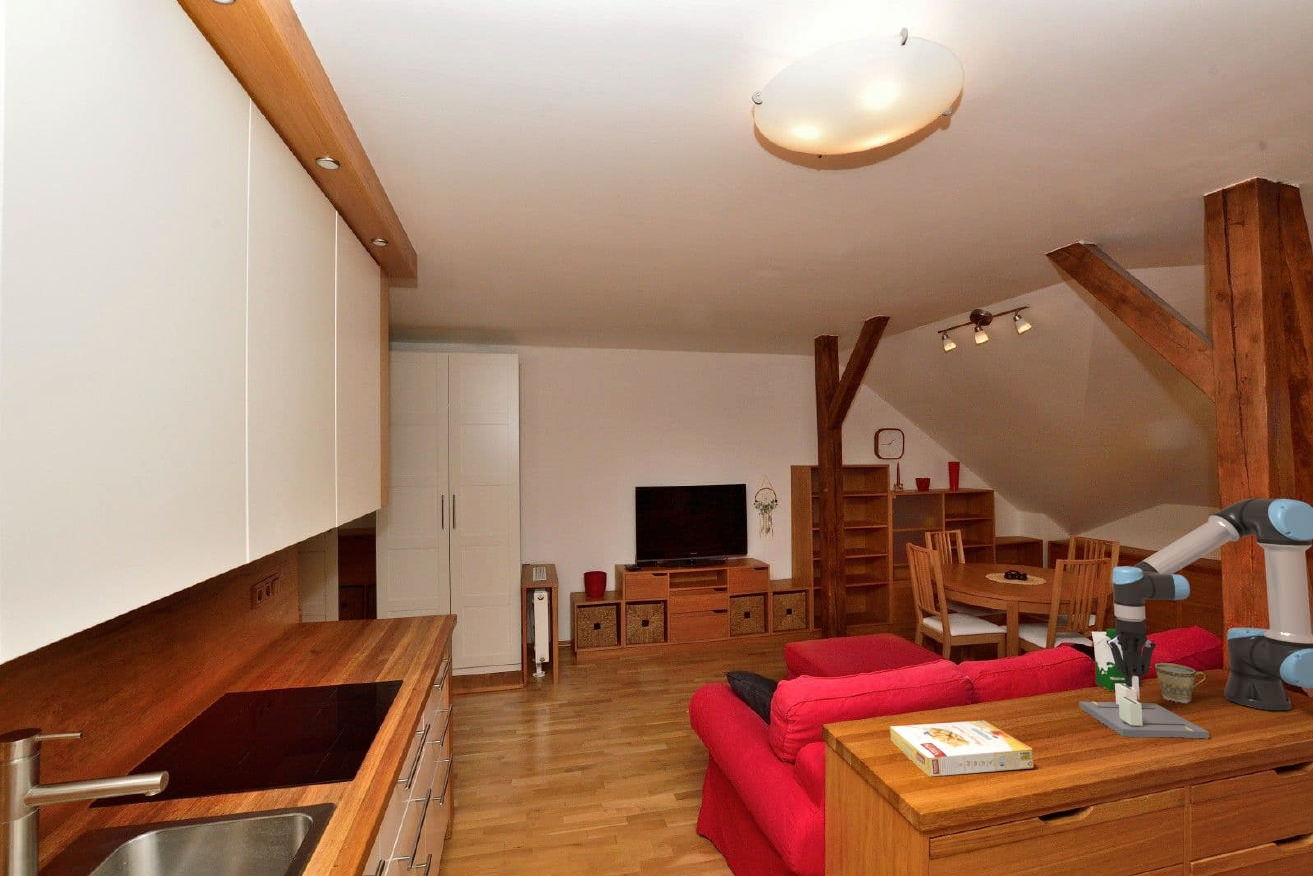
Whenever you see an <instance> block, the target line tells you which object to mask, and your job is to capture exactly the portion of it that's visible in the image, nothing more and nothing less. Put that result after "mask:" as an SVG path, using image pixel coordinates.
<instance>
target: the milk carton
mask: <svg viewBox="0 0 1313 876" xmlns="http://www.w3.org/2000/svg"><path fill="white" fill-rule="evenodd" d="M1105 630H1106V631H1091V636H1092V640H1093V645H1094V647H1093V648H1094V665H1095V685H1097V687H1100V688H1102V687H1106V688H1107V689H1108V690H1114V691H1113V692H1115V683H1116V684H1119V683H1122V684H1125V675H1124V674H1122V673H1120V672H1118V671H1117V668H1116V665H1115V661H1114V658H1113V655H1112V651H1111V648H1110V647H1109V645H1108V644H1107V640H1110V641H1111V640H1112V639H1114V638H1115V634H1116V630H1115V628H1110V627H1109V628H1106V629H1105ZM1118 645H1119V646H1118V648H1119V650H1120V653H1121V656H1122V659H1123V653H1122V650H1121V645H1120V644H1119V643H1118Z"/></svg>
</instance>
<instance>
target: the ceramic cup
mask: <svg viewBox="0 0 1313 876" xmlns="http://www.w3.org/2000/svg"><path fill="white" fill-rule="evenodd" d="M1154 667H1155V668H1154V669H1155V672H1156V676H1157V680H1158V683H1159V686H1160V691H1161V694H1162V698H1163V699H1165V700H1167V701H1169V700H1172V701H1171V702H1173V701H1175V702H1174V703H1177V702H1181V703H1180V704H1189V703H1191V702H1192V696H1193V695H1192V694H1193V689H1194V688H1195V687H1197V685H1199V684H1201V683H1202V682H1204V681H1205V680H1206V678H1207V677H1206V674H1205V673H1204V672H1202V671H1200V670H1199V671H1198V670H1197V671H1196V670H1195V669H1194V668H1192V667H1189V666H1185V665H1181V664H1176V663H1166V662H1164V663H1163V662H1161V663H1155V665H1154ZM1199 674H1201V675H1203V677H1202V679H1200V680H1198V681H1197V682H1196V683H1195V680H1196V679H1195V678H1196V676H1197V675H1199ZM1190 701H1191V702H1190ZM1188 702H1189V703H1188Z"/></svg>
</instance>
